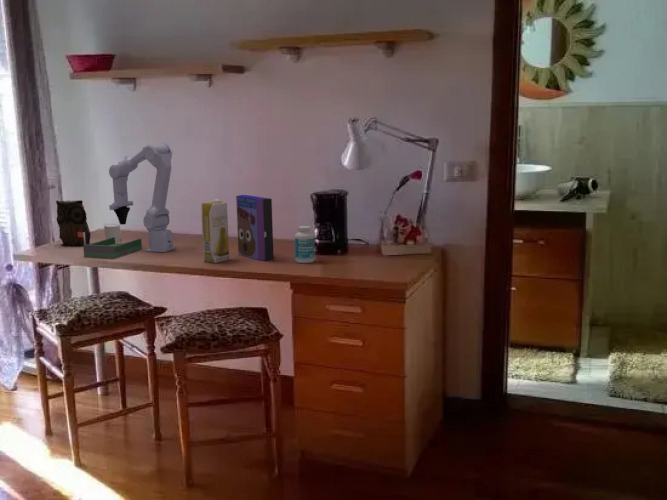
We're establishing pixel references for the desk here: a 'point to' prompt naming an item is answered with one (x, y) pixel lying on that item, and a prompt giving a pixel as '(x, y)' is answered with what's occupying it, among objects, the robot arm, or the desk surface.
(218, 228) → the juice carton
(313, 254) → the pill bottle
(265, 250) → the cereal box
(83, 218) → the owl
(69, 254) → the desk surface
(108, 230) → the grey cup
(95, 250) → the putting green
